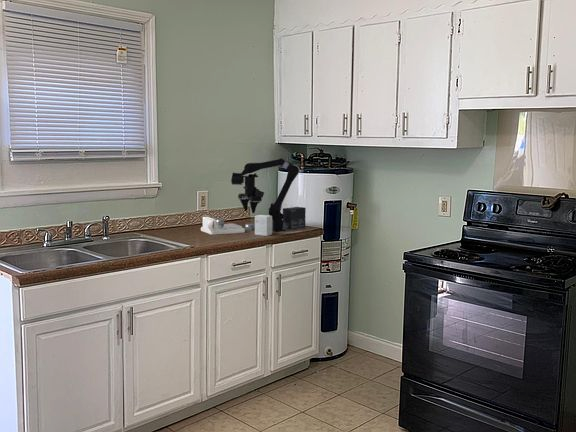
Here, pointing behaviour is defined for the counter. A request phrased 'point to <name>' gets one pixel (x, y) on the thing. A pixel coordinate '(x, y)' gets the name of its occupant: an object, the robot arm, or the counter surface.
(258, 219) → the small box
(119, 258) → the counter surface
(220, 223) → the spacer on pan
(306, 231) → the counter surface
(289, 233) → the counter surface
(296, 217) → the small box
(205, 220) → the scale
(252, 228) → the steel cup
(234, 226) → the pan
